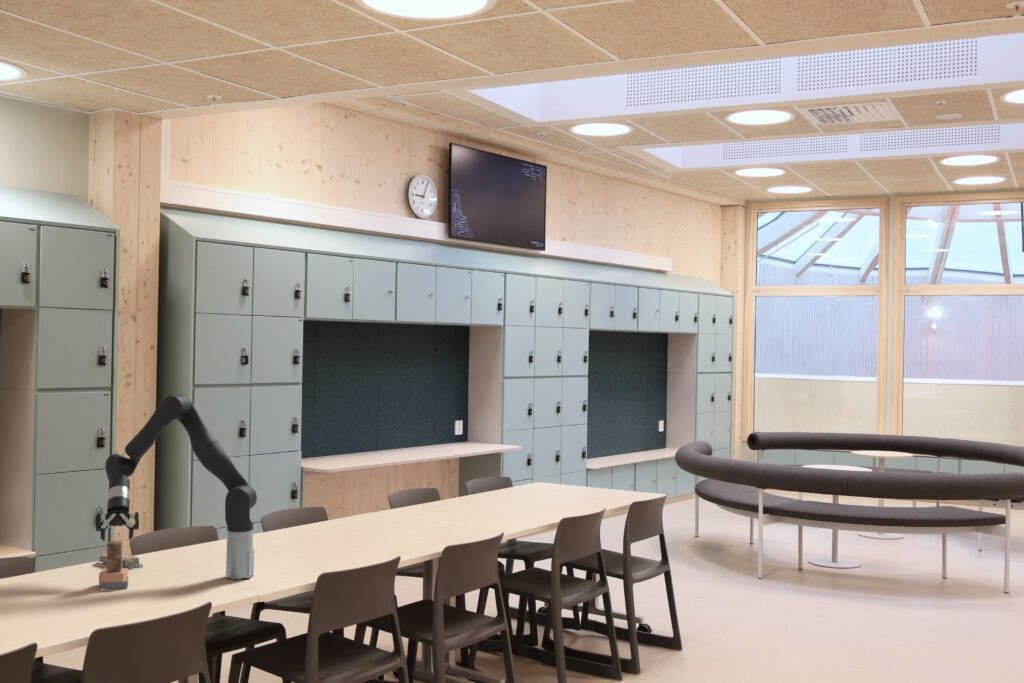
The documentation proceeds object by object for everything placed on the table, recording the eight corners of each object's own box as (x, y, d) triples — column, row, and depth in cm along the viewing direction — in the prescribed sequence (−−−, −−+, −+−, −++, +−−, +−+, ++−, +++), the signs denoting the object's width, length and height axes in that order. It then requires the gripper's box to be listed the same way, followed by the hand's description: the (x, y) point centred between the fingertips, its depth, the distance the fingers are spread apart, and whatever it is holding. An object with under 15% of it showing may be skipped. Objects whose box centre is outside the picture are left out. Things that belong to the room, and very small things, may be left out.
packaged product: (144, 555, 369) (120, 559, 361) (144, 568, 369) (120, 572, 361) (116, 549, 379) (93, 553, 371) (116, 561, 379) (92, 565, 371)
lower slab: (128, 584, 344) (128, 576, 344) (127, 590, 335) (127, 581, 335) (100, 586, 341) (100, 577, 341) (99, 592, 332) (99, 583, 332)
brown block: (122, 568, 341) (122, 540, 341) (120, 571, 336) (121, 543, 336) (108, 569, 339) (108, 541, 339) (106, 572, 335) (107, 543, 335)
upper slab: (127, 576, 342) (128, 568, 343) (123, 582, 335) (123, 573, 335) (103, 577, 341) (104, 568, 341) (98, 582, 333) (98, 573, 333)
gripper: (97, 495, 347) (94, 533, 336) (139, 494, 352) (138, 531, 341) (97, 508, 352) (95, 546, 341) (139, 506, 357) (138, 544, 346)
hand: (116, 539), depth 341 cm, fingers open, 8 cm apart
